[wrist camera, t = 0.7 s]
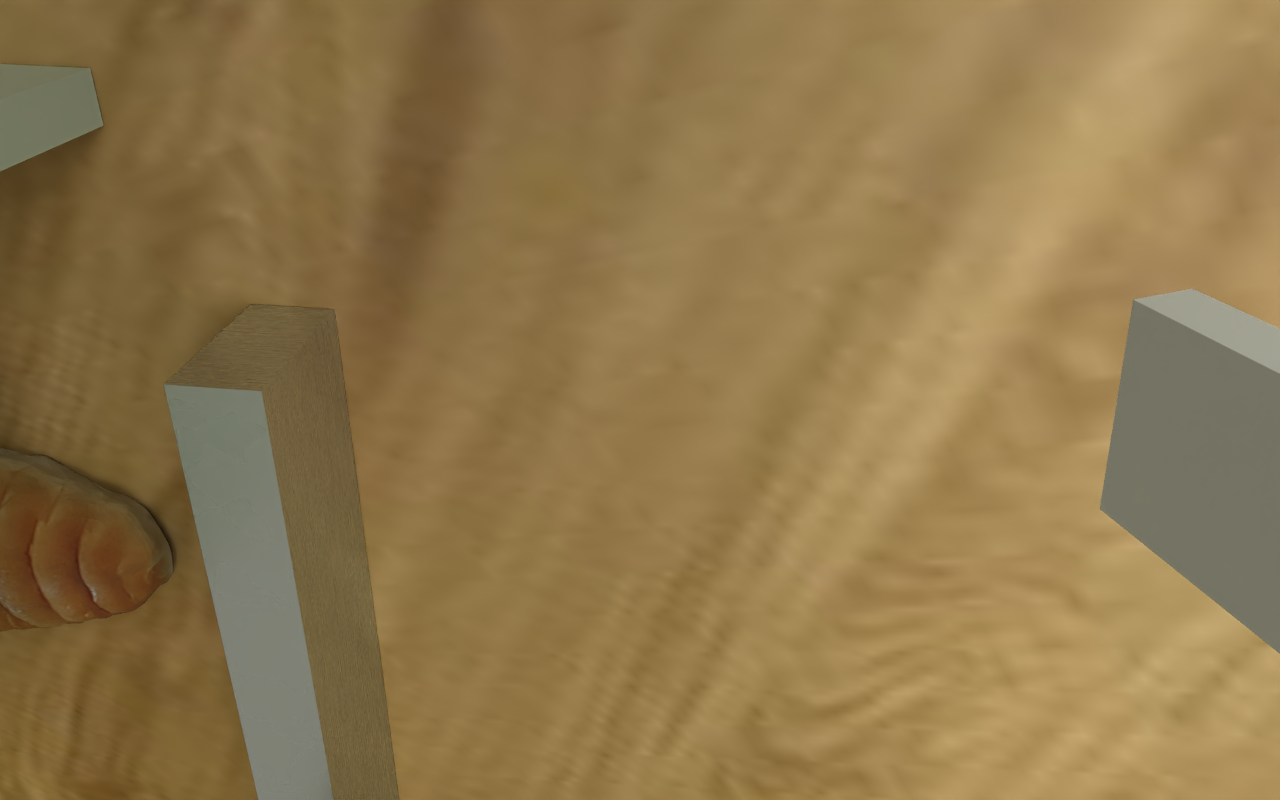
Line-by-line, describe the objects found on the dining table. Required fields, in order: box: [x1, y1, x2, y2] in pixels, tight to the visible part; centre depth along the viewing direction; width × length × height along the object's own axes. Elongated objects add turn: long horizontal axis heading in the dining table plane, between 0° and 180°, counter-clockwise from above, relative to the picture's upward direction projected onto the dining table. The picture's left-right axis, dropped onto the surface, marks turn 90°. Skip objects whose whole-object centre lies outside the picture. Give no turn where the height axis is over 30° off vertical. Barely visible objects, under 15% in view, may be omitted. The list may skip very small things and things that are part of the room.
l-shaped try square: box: [164, 304, 399, 800], centre depth 29 cm, size 24×3×14 cm, turn 179°
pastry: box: [0, 448, 173, 631], centre depth 33 cm, size 9×7×4 cm
